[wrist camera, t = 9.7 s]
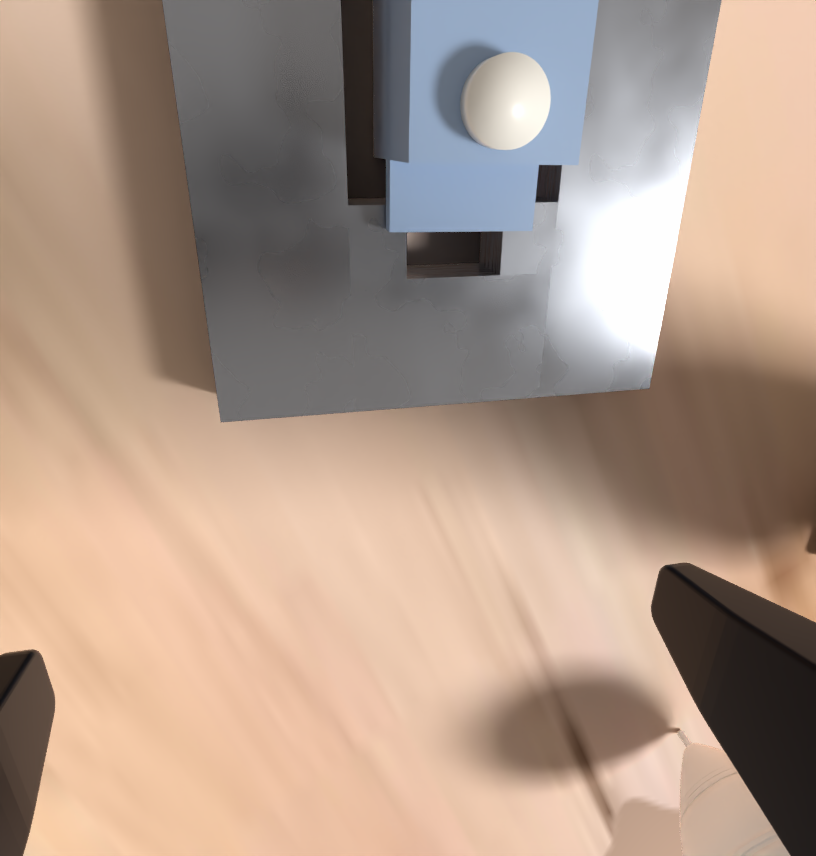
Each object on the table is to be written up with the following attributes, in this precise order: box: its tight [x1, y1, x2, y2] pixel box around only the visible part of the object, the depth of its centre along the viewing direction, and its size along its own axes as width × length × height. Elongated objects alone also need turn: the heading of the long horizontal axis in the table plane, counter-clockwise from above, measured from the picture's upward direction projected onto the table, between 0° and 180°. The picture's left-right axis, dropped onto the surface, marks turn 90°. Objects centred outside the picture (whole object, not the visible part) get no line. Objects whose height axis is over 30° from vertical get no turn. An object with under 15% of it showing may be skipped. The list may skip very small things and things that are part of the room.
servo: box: [373, 0, 599, 232], centre depth 14 cm, size 4×10×6 cm, turn 179°
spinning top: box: [678, 730, 790, 856], centre depth 28 cm, size 8×8×12 cm
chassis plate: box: [162, 0, 721, 422], centre depth 16 cm, size 20×14×2 cm
